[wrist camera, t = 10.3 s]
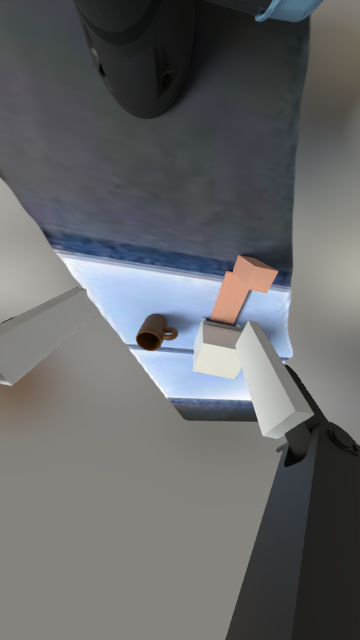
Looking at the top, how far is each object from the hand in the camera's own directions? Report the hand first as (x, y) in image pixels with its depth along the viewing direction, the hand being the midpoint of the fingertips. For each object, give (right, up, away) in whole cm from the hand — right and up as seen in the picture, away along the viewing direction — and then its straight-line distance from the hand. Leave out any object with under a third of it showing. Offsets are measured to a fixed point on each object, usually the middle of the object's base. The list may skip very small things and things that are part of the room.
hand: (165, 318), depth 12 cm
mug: (-4, -1, +36) cm, 36 cm away
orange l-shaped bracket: (+16, +7, +27) cm, 32 cm away
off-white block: (+13, -5, +36) cm, 38 cm away
